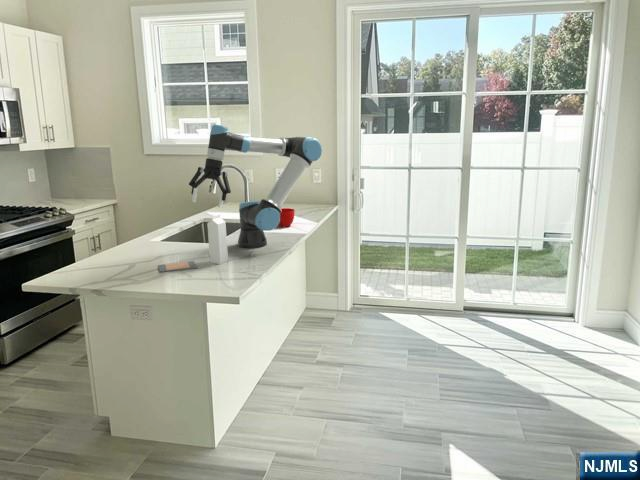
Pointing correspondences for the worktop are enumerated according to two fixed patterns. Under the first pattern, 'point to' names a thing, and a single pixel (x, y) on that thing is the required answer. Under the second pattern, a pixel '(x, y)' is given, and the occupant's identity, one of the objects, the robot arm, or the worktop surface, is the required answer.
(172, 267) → the board
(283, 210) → the ceramic cup
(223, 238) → the milk
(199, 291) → the worktop surface
